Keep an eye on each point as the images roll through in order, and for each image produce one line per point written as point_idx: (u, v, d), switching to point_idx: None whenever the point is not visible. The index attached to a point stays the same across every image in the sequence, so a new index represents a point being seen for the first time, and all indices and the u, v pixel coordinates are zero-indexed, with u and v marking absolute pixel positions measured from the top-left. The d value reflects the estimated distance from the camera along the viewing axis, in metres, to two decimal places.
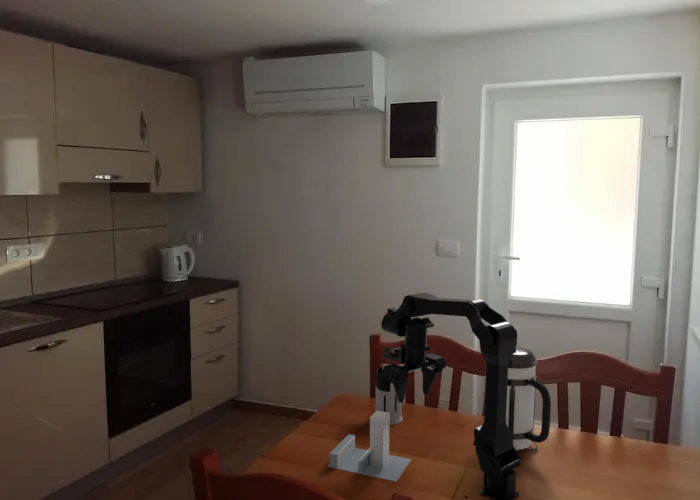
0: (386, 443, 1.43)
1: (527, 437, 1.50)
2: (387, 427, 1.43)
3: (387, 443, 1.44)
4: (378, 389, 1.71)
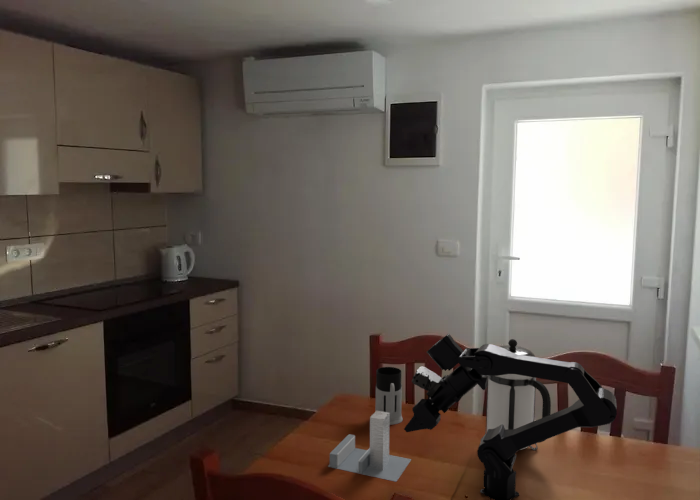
0: (386, 443, 1.43)
1: None
2: (387, 427, 1.43)
3: (387, 443, 1.44)
4: (378, 389, 1.71)
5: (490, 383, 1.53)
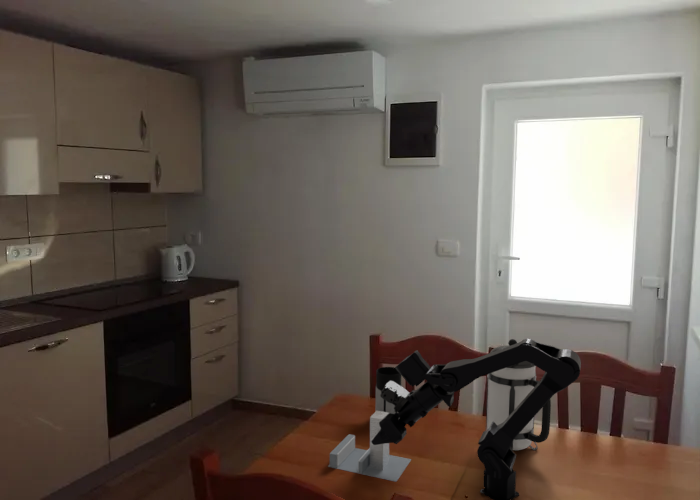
0: (386, 443, 1.43)
1: (527, 437, 1.50)
2: None
3: (387, 443, 1.44)
4: (378, 389, 1.71)
5: (490, 383, 1.53)
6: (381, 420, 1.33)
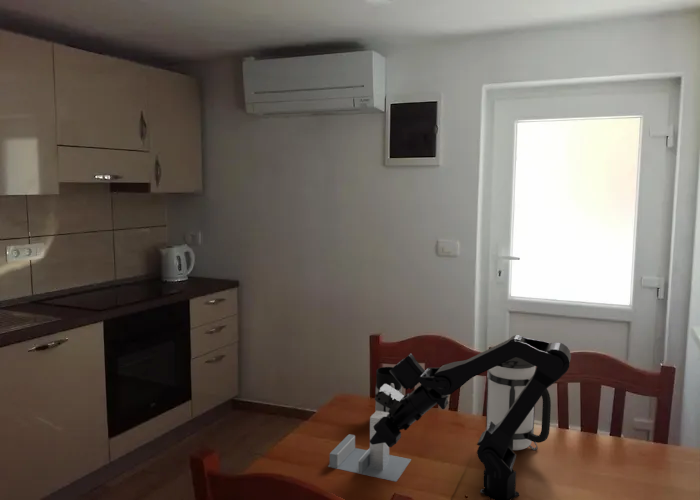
0: None
1: (527, 437, 1.50)
2: None
3: None
4: (378, 389, 1.71)
5: (490, 383, 1.53)
6: None
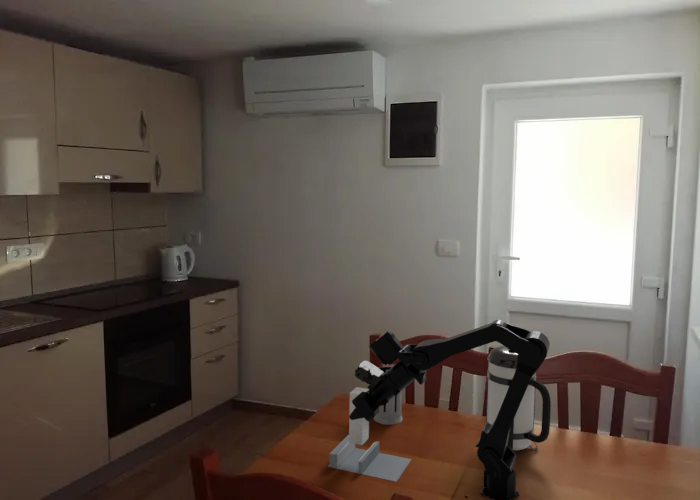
0: (365, 419, 1.44)
1: (527, 437, 1.50)
2: None
3: None
4: None
5: (490, 383, 1.53)
6: (354, 398, 1.35)
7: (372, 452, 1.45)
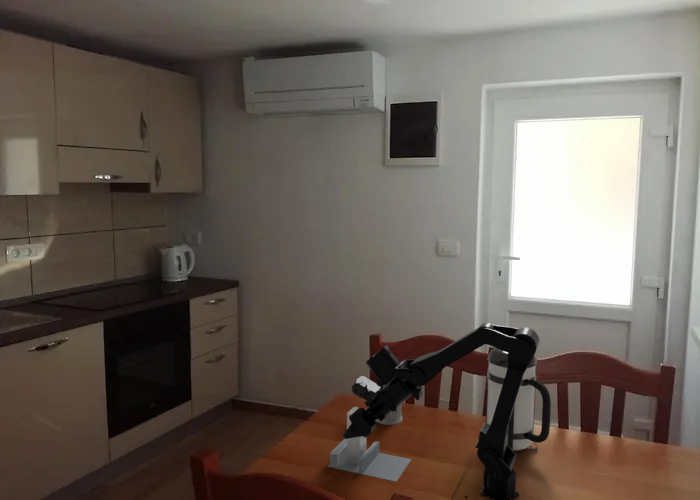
0: (363, 438, 1.45)
1: (527, 437, 1.50)
2: None
3: (364, 439, 1.46)
4: None
5: (490, 383, 1.53)
6: (351, 414, 1.36)
7: (372, 452, 1.45)
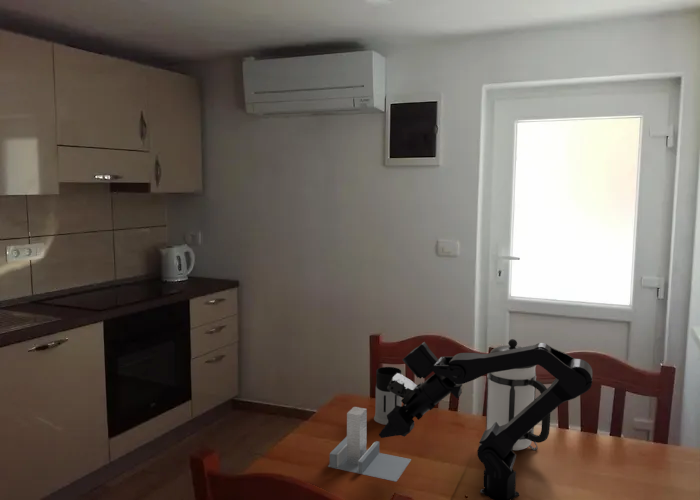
0: (363, 438, 1.45)
1: (527, 437, 1.50)
2: (364, 423, 1.45)
3: (364, 439, 1.46)
4: (378, 389, 1.71)
5: (490, 383, 1.53)
6: (389, 412, 1.32)
7: (372, 452, 1.45)
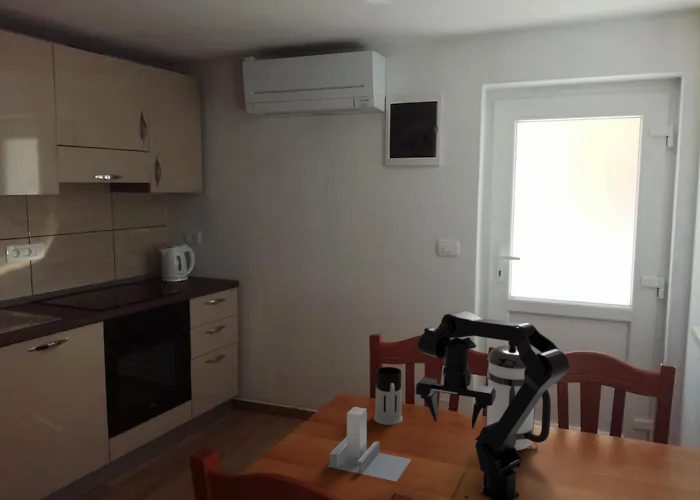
0: (363, 438, 1.45)
1: (527, 437, 1.50)
2: (364, 423, 1.45)
3: (364, 439, 1.46)
4: (378, 389, 1.71)
5: (490, 383, 1.53)
6: None
7: (372, 452, 1.45)
